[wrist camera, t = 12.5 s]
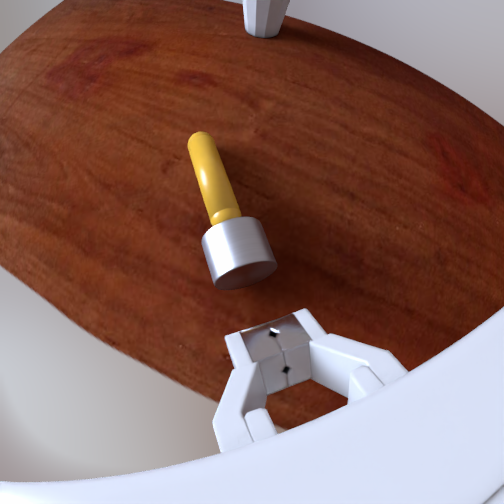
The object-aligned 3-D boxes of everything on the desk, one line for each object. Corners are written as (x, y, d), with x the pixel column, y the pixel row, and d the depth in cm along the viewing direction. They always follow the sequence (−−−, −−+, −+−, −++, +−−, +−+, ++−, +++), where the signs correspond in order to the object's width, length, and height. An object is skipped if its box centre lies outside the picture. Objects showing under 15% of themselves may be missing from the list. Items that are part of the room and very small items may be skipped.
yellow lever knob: (290, 261, 23) (231, 124, 28) (240, 260, 20) (189, 111, 25) (250, 289, 26) (205, 157, 31) (202, 291, 23) (164, 148, 28)
